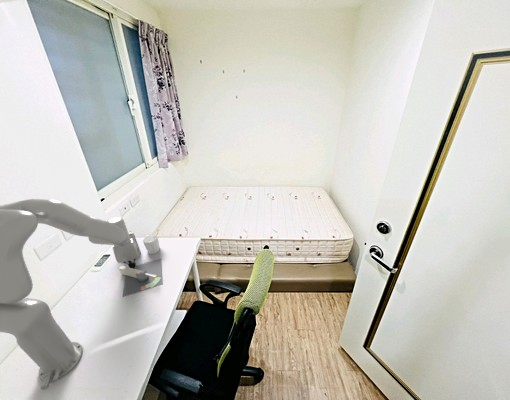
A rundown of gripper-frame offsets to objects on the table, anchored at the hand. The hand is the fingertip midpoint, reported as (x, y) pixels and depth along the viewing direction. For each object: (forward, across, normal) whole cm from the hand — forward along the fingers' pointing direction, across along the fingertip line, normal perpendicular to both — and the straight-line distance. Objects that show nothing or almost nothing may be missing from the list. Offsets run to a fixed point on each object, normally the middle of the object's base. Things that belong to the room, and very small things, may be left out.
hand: (133, 267), depth 118 cm
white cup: (+3, +10, +13) cm, 17 cm away
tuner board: (+3, +5, -7) cm, 9 cm away
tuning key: (+1, +3, -8) cm, 8 cm away
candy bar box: (+3, -2, +16) cm, 16 cm away
